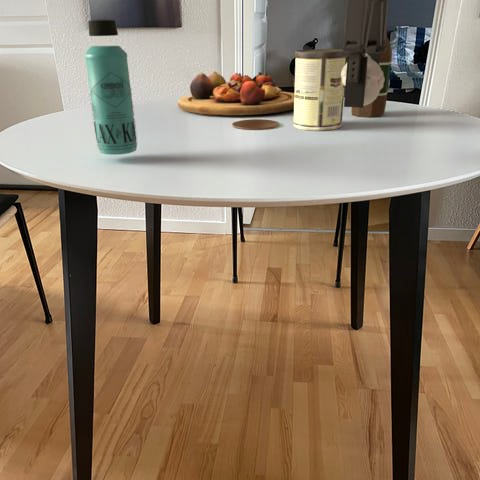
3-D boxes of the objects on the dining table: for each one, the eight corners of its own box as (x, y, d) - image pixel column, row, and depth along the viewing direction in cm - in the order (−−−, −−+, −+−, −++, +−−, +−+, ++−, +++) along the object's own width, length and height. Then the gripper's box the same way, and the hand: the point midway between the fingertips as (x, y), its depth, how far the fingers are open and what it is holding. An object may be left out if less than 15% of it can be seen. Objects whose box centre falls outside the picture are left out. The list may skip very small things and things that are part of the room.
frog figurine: (361, 101, 79) (365, 51, 76) (391, 106, 74) (397, 53, 70) (330, 104, 77) (333, 53, 74) (359, 110, 72) (363, 55, 68)
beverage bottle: (93, 159, 83) (70, 19, 73) (129, 153, 87) (112, 18, 76) (109, 166, 79) (87, 19, 68) (147, 159, 82) (131, 18, 72)
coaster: (286, 123, 109) (286, 121, 108) (267, 131, 101) (267, 129, 101) (245, 119, 113) (245, 118, 112) (224, 127, 105) (223, 125, 105)
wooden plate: (306, 117, 114) (308, 77, 110) (168, 118, 115) (165, 79, 111) (298, 97, 141) (300, 65, 137) (187, 99, 143) (185, 66, 138)
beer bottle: (353, 117, 113) (366, -9, 100) (348, 112, 119) (359, -8, 107) (388, 117, 113) (405, -10, 100) (381, 111, 119) (396, -9, 107)
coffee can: (306, 120, 111) (309, 48, 104) (349, 124, 106) (356, 49, 99) (283, 128, 104) (285, 51, 96) (328, 132, 99) (335, 52, 91)
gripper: (368, -79, 72) (354, 94, 84) (324, -101, 58) (314, 112, 70) (421, -85, 69) (399, 95, 81) (389, -110, 55) (367, 114, 67)
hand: (360, 103), depth 75 cm, fingers closed on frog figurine, 6 cm apart
